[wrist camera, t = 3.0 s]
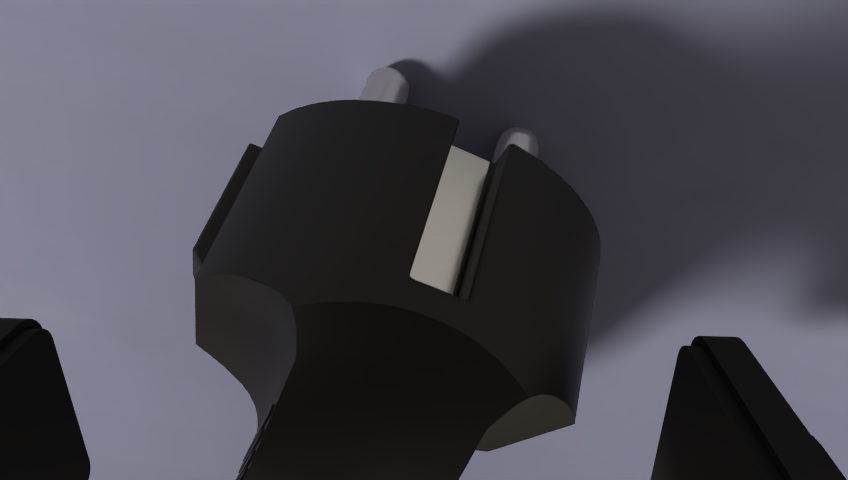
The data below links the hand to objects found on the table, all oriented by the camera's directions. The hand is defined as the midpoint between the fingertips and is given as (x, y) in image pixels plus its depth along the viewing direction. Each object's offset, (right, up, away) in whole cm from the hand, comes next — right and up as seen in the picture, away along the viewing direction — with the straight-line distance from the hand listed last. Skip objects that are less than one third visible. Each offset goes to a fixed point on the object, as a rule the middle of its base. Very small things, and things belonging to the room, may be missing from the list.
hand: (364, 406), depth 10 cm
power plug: (-1, +1, +4) cm, 4 cm away
